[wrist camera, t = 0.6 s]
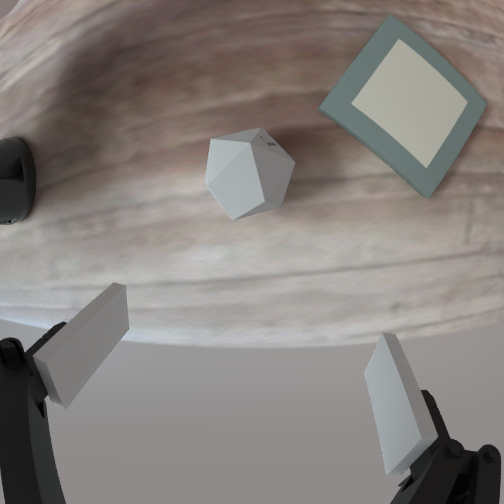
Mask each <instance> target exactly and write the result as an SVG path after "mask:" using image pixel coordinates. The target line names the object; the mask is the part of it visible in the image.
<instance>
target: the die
mask: <svg viewBox="0 0 504 504" xmlns="http://www.w3.org/2000/svg"><path fill="white" fill-rule="evenodd" d="M295 163H296V162H295V161H294V160H293V159H292V158H291V157H290V156H289V155H288V154H287V153H286V152H285V150H284V149H283V148H282V147H281V146H280V145H279V144H278V143H277V142H276V141H275V140H274V139H273V138H272V137H271V136H270V135H269V134H268V133H267V132H266V131H265V130H264V129H263V128H262V127H260V128H255V129H251V130H246V131H241V132H237V133H233V134H229V135H224V136H220V137H216V138H213V139H211V142H210V148H209V154H208V161H207V168H206V174H205V181H204V184H205V186H206V187H207V188H208V189H209V191H210V192H211V193H212V195H213V196H214V197H215V198H216V200H217V201H218V202H219V203H220V205H221V206H222V207H223V209H224V210H225V211H226V212H227V214H228V215H229V216H230V218H231V219H232V220H237V219H240V218H243V217H247V216H250V215H254V214H257V213H261V212H264V211H268V210H271V209H275V208H278V207H281V206H282V203H283V200H284V197H285V194H286V191H287V188H288V185H289V182H290V178H291V175H292V172H293V169H294V166H295Z"/></svg>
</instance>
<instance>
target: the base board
mask: <svg viewBox="0 0 504 504" xmlns="http://www.w3.org/2000/svg"><path fill="white" fill-rule="evenodd" d="M486 105H487V103H486V102H485V101H484V99H483V98H482V97H481V96H480V95H479V94H478V92H477V91H476V90H475V89H474V88H473V87H472V86H471V85H470V84H469V82H468V81H467V80H466V79H465V78H464V77H463V76H462V75H461V74H460V73H459V72H458V71H457V70H456V69H455V68H454V67H453V66H452V65H451V64H450V63H449V62H448V61H447V60H446V59H445V58H444V57H442V56H441V55H440V54H439V53H438V52H437V51H436V50H435V49H434V48H433V47H431V46H430V45H429V44H428V43H427V42H426V41H424V40H423V39H422V38H421V37H420V36H418V35H417V34H416V33H415V32H413V31H412V30H411V29H410V28H408V27H407V26H406V25H404V24H403V23H402V22H400V21H399V20H398V19H396V18H395V17H393V16H392V15H391V14H390V15H389V16H388V17H387V18H386V20H385V21H384V22H383V23H382V25H381V26H380V27H379V29H378V30H377V31H376V32H375V34H374V35H373V36H372V38H371V39H370V40H369V41H368V43H367V44H366V45H365V47H364V48H363V49H362V50H361V52H360V53H359V54H358V56H357V57H356V58H355V60H354V61H353V62H352V64H351V65H350V66H349V68H348V69H347V70H346V71H345V73H344V74H343V75H342V77H341V78H340V79H339V81H338V82H337V83H336V85H335V86H334V87H333V89H332V90H331V92H330V93H329V94H328V96H327V97H326V98H325V100H324V101H323V102H322V104H321V105H320V106H319V108H318V109H317V110H318V111H320V112H321V113H323V114H324V115H325V116H327V117H328V118H330V119H331V120H332V121H334V122H335V123H336V124H338V125H339V126H340V127H342V128H343V129H345V130H346V131H347V132H348V133H350V134H351V135H352V136H354V137H355V138H356V139H357V140H359V141H360V142H361V143H363V144H364V145H365V146H366V147H368V148H369V149H370V150H371V151H372V152H374V153H375V154H376V155H377V156H378V157H380V158H381V159H382V160H383V161H384V162H385V163H387V164H388V165H389V166H390V167H391V168H392V169H393V170H395V171H396V172H397V173H398V174H399V175H400V176H401V177H402V178H403V179H405V180H406V181H407V182H408V183H409V184H410V185H411V186H412V187H413V188H414V189H415V190H416V191H417V192H418V193H419V194H420V195H421V196H423V197H426V198H428V199H429V198H430V196H431V195H432V193H433V192H434V190H435V189H436V188H437V186H438V185H439V183H440V182H441V180H442V179H443V177H444V176H445V174H446V173H447V171H448V170H449V168H450V167H451V165H452V163H453V162H454V160H455V159H456V157H457V155H458V154H459V152H460V151H461V149H462V147H463V146H464V144H465V142H466V141H467V139H468V137H469V136H470V134H471V132H472V131H473V129H474V127H475V125H476V124H477V122H478V120H479V118H480V116H481V115H482V113H483V111H484V109H485V107H486Z"/></svg>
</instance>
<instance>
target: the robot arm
mask: <svg viewBox="0 0 504 504" xmlns="http://www.w3.org/2000/svg"><path fill="white" fill-rule="evenodd" d="M35 182H36V181H35V168H34V163H33V159H32V156H31V153H30V151H29V149H28V147H27V146H26V144H25V143H24V142H23V141H22V140H20V139H18V138H5V139H2V140H0V224H2V225H3V224H4V225H10V224H14V223H16V222H19V221H21V220H23V219H24V218H25V217H26V216H27V215H28V213H29V211H30V209H31V207H32V204H33V200H34V195H35ZM128 330H129V321H128V309H127V295H126V286H125V285H121V284H118V283H113V284H111V285H110V286H109V287H108V288H107V289H106V290H104V291H103V292H102V293H101V294H100V295H99V296H97V297H96V298H95V299H94V300H93V301H92V302H90V303H89V304H88V305H87V306H86V307H85V308H84V309H83V310H81V311H80V312H79V313H78V314H77V315H76V316H75V317H74V318H73V319H71V320H70V321H69V322H68V323H66V322H61V323H59V324H57V325H55V326H53V327H52V328H51V329H50V330H49V331H48V332H47V333H46V334H44V335H43V336H42V338H40V339H39V340H38V341H37V342H36V343H35V344H34V345H33V346H32V347H30V348H29V349H28V350H27V351H26V352H24V349H23V347H22V344H21V342H20V341H19V340H18V339H16V338H5V339H3V340H1V341H0V470H1V478H2V486H3V492H4V498H5V504H66V502H65V499H64V495H63V492H62V489H61V485H60V481H59V477H58V473H57V468H56V464H55V459H54V455H53V450H52V444H51V438H50V432H49V425H48V417H47V408H46V402H45V400H44V399H45V398H46V396H47V395H49V397H50V400H51V402H52V403H53V404H55V405H57V406H58V407H60V408H62V409H64V410H66V409H67V407H68V406H69V405H70V403H71V402H72V401H73V399H74V398H75V397H76V396H77V394H78V393H79V392H80V390H81V389H82V388H83V386H84V385H85V384H86V382H87V381H88V380H89V379H90V377H91V376H92V375H93V373H94V372H95V371H96V370H97V368H98V367H99V366H100V365H101V363H102V362H103V361H104V359H105V358H106V357H107V356H108V354H109V353H110V352H111V351H112V349H113V348H114V347H115V346H116V344H117V343H118V342H119V341H120V340H121V338H122V337H123V336H124V335H125V333H126V332H127V331H128ZM364 375H365V379H366V383H367V387H368V391H369V395H370V399H371V403H372V407H373V412H374V416H375V421H376V425H377V430H378V435H379V440H380V445H381V449H382V455H383V460H384V466H385V471H386V476H388V475H399V474H403V473H404V472H405V471H406V470H407V469H408V468H409V467H410V471H411V474H410V475H409V476H408V477H407V478H406V479H405V480H404V481H403V482H401V483H400V484H399V485H398V486H401V485H402V487H401V488H400V490H399V491H398V493H397V494H396V496H395V497H394V499H393V500H392V501H391V503H390V504H499V498H500V482H501V456H500V453H499V451H498V449H497V448H496V447H494V446H492V445H484V446H482V448H480V449H479V450H478V452H475V451H469V450H464V447H463V446H462V444H461V443H459V442H458V441H457V440H454V439H450V436H449V434H448V431H447V429H446V426H445V424H444V421H443V419H442V416H441V415H440V411H439V409H438V408H437V404H436V402H435V400H434V397H433V396H432V395H431V394H430V393H429V392H428V391H427V390H420V388H419V386H418V383H417V381H416V379H415V376H414V374H413V372H412V369H411V367H410V365H409V363H408V361H407V358H406V356H405V354H404V352H403V350H402V347H401V345H400V343H399V341H398V339H397V337H396V335H395V334H389V333H382V335H381V337H380V339H379V342H378V344H377V346H376V348H375V351H374V353H373V355H372V357H371V360H370V362H369V364H368V366H367V368H366V370H365V372H364Z"/></svg>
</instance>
